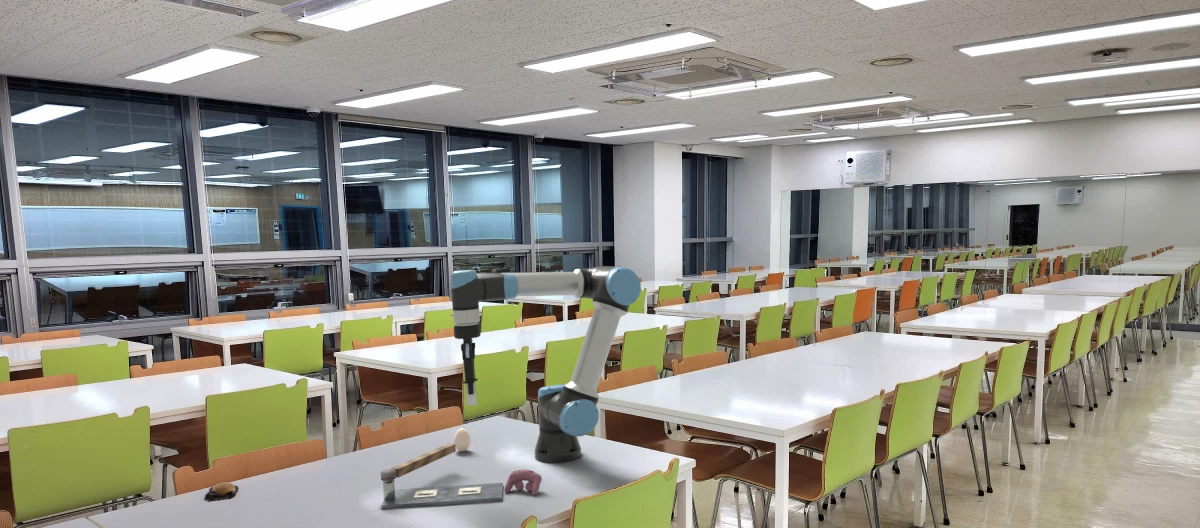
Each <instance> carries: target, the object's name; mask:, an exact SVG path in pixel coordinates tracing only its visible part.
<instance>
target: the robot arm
mask: <svg viewBox="0 0 1200 528" xmlns="http://www.w3.org/2000/svg"><path fill="white" fill-rule="evenodd" d="M449 288H450V294H451V302H452V313H450V316H451V317H453V319H452V321H453V324H455V325H454V326H453V336H454V338H455V339H457V340H462V341H463V342H462V343H461V344H460V351H461V353H462V354H461V356H462V360H463V366H464V367H463V368H464V380H463V382H462V383H463V384H465V392H466V393H465V395H466V396H465V397H466V405H467V406H477V404H478V401H477V388H476V382H477V381H478V377H477V378H476V373H475V372H476V371H475V369H476V368H475V358H476V342H473V339H476V338H480V336H481V334H482V333H481V325H480V321H481V318H480V305H479V303H481V302H482V303H484V302H492V301H493V302H494V301H504V300H505V301H508V300H511V299H515V298H516V297H549V296H551V297H552V296H554V297H555V296H556V297H557V296H574V297H575V298H576V299H591V303H592V305H593V308H594V309H593V310H594V311H593V312H592V316H591V319H590V322H589V325H588V327H587V329H586V334H585V337H584V340H583V344H582V346H581V349H580V352H579V355H578V357H577V361H576V363H575V367H574V369H573V372H572V376H571V379H570V380H569V381H568V382H567V383H565V384H554V385H553V384H552V385H547V386H542V387H540V388H539V389H538V391H537V393H538V394H537V395H538V396H537V402H538V403H537V405H538V426H539V427H538V428H539V429H538V430H539V432H538V433H539V434H538V436H537V437H538V438H537V440H536V444H535V447H534V458H535V459H536V460H538V461H541V462H545V463H565V462H569V461H570V462H571V461H574V460H576V459H578V458H580V457H581V456H582V447H581V445H580V442H579V439H578V438H579V437H584V436H586V435H588V434H590V433H591V432H592V431H593V430H594V429H595V428H596V427H597V425H598V423H599V420H600V419H599V418H600V413H599V409H598V406H597V405H598V402H599V399H600V396H599V393H598V391H597V390H598V387H599V383H600V380H601V377H602V374H603V372H604V368H605V364H606V361H607V359H608V356H609V353H610V349H611V347H612V344H613V341H614V339H615V334H616V331H617V329H618V326H619V322H620V320H621V318H622V317H623V316H626V315H627V314H628V312H629V308H630V305H632V304H633V303H635V302H636V301H637V300H638V298H639V297H640V294H641V290H642V283H641V281H640V279H639V277H638V275H637V273H636V272H635V271H633V269H630V268H628V267H623V266H621V265H620V266H609V265H603V266H595V267H587V268H576V269H574V270H573V271H561V272H560V271H557V272H556V271H555V272H554V271H552V272H548V271H547V272H545V271H544V272H543V271H541V272H479V273H478V272H477V270H475V269H467V270H465V269H464V270H462V269H461V270H454V271H453V272H451V274H450V287H449Z"/></svg>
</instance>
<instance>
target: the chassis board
mask: <svg viewBox="0 0 1200 528" xmlns="http://www.w3.org/2000/svg"><path fill="white" fill-rule="evenodd" d="M382 487H383V488H382V489H383V490H382V491H383V501H382V504H381V506H380V507H381V510H384V509H385V510H387V509H403V508H416V507H432V506H446V505H464V504H476V503H477V504H478V503H495V502H502V501H503V491H504V482H494V483H493V482H492V483H491V482H490V483H478V484H462V485H461V484H460V485H446V486H445V485H444V486H433V487H431V486H430V487H417V488H416V487H414V488H400V489H399V488H398V489H395V479H394V480H391V481H382Z"/></svg>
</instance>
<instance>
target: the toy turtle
mask: <svg viewBox="0 0 1200 528" xmlns="http://www.w3.org/2000/svg"><path fill="white" fill-rule="evenodd" d="M239 489H240V488H239V486H238V485H234V484H232V483H231V482H229V481H224V482H223V481H222V482H219V483H217V484H215V485H214V486H211V487H210V488H209V489H208V491H207V492H206V494H205V495H204V498H205V500H206V502H207V503H209V502H217V501H225V500H231V499H234V498H236V496H237V494H238V491H239Z"/></svg>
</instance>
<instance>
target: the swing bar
mask: <svg viewBox="0 0 1200 528" xmlns="http://www.w3.org/2000/svg"><path fill="white" fill-rule="evenodd" d="M456 451H457V449H456V447H455V444H454V442H453V443H451V442H448V443H446V444H444V445H441V446H439V447H437V448H435V449H432V450H430V451H427V452H425V453H423V454H420V455H419V456H416V457H414V458H411V459H409V460H407V461H404V462H402V463H400V464H397V465H396V466H393V467H391V468H388V469H383V470H381V471H380V480H381V481H382V482H383V481H391V480H394V481H395V480H396V479H397V478H401V477H403V476H405V475H407V474H410V473H412V472H413V471H416V470H419V469H421V468H423V467H425V466H426V465H429V464H431V463H434V462H436V461H437V460H440V459H443V458H445V457H446V456H449V455H452V454H453V453H456Z"/></svg>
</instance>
